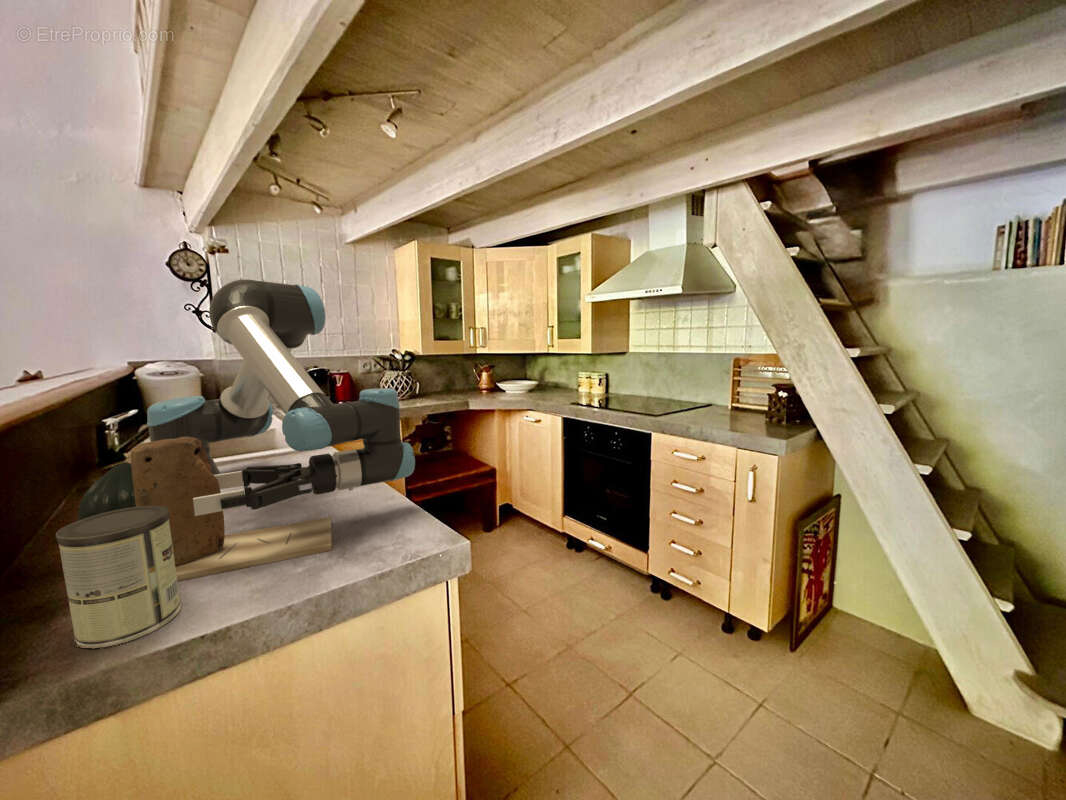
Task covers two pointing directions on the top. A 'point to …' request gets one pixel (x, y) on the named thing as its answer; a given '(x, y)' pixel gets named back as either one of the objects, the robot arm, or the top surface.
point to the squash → (109, 492)
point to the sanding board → (261, 548)
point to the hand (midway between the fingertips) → (196, 495)
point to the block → (179, 493)
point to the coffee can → (119, 574)
